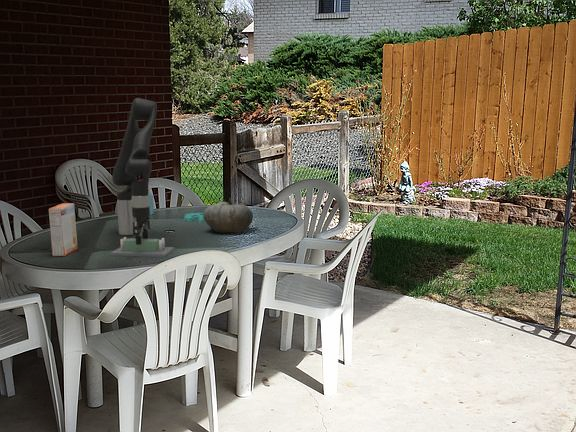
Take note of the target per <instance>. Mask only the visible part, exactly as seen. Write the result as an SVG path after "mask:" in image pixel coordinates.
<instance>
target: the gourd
mask: <svg viewBox="0 0 576 432" xmlns="http://www.w3.org/2000/svg"><path fill="white" fill-rule="evenodd" d="M202 213H203V216H204V219H205V220H204V222H205V223H206V225H207V226H208V227H210V229H212V230H214V231H215V232H217V233H220V232H221V233H222V234H224V233H240V232H244V231H246V230H248V228H249V227H250V226H251V225H252V223H253V221H254V220H253V218H254V213H253V211H252V210H251V208H249V207H248V206H247V205H245V204H241V203H236V204H233V202H232V199H231V197H229V200H228V202H226V201H219V202H217V203H214V204H213V205H210V206H208V207H206V208H205V209H204V210H203V212H202ZM223 232H224V233H223Z"/></svg>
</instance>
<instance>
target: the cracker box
mask: <svg viewBox="0 0 576 432" xmlns="http://www.w3.org/2000/svg"><path fill="white" fill-rule="evenodd" d="M75 209H76V208H75V203H74V202H73V203H69V202H68V203H67V202H64V203H60V204H57V205H55V206H53V207H49V208H48V218H49V229H50V241H51V242H50V243H51V253H52V254H51V256H52V257H66V256H67V255H70V254H71V253H73V252H74V251H76V250H78V238H77V237H78V236H77V224H76V212H75V211H76V210H75Z"/></svg>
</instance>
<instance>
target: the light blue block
mask: <svg viewBox="0 0 576 432" xmlns="http://www.w3.org/2000/svg"><path fill="white" fill-rule="evenodd" d="M149 202H150V216H153V215H152V214H154V213H155V211H154V196H153V194H152V193H151V194H150V193H149Z"/></svg>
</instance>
